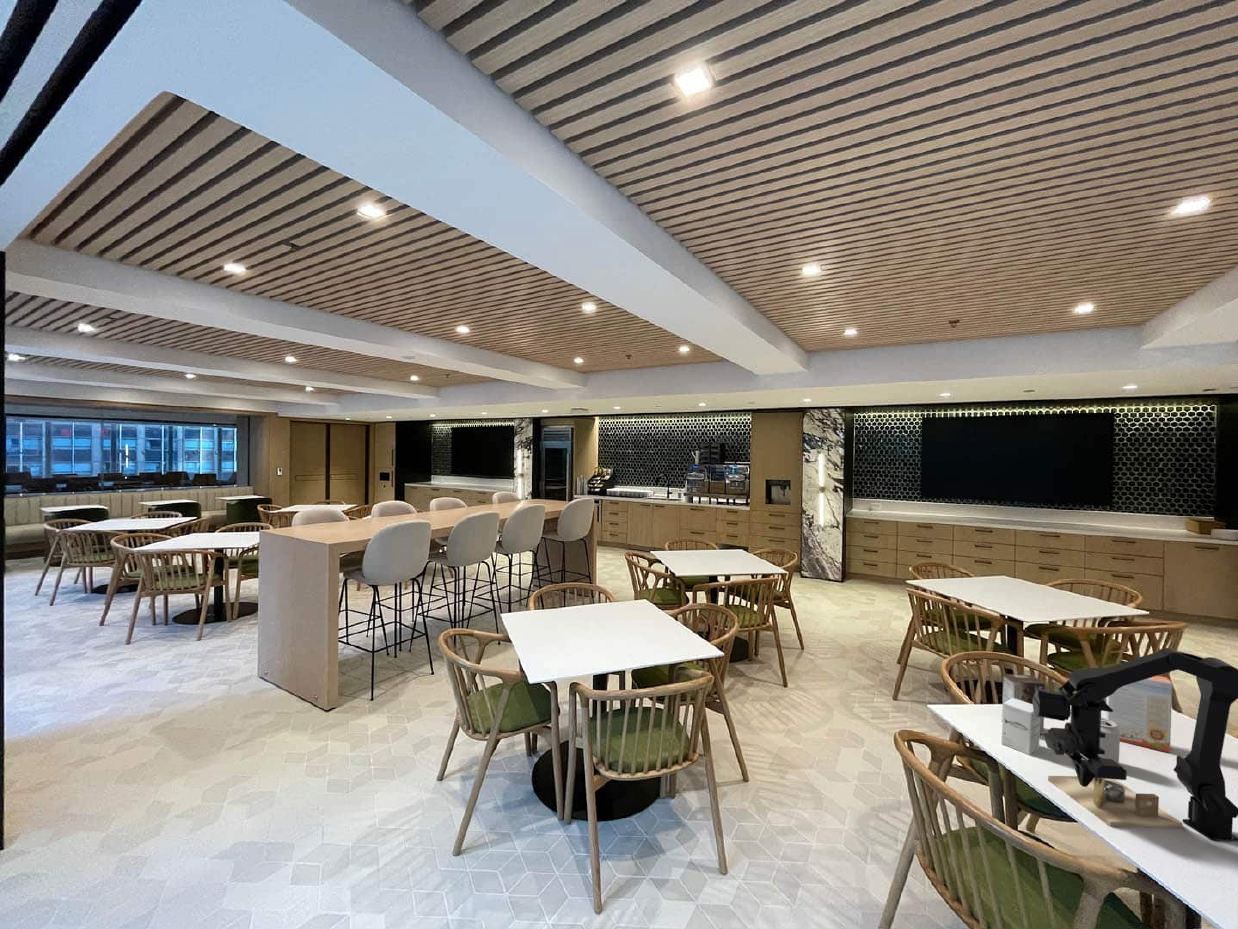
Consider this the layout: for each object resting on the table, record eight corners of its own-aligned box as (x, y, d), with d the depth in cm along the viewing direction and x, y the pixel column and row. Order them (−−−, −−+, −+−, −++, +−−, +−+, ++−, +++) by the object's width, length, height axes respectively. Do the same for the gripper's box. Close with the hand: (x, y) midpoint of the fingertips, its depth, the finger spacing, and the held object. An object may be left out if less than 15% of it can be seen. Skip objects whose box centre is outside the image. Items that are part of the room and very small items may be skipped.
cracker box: (1166, 745, 164) (1169, 677, 164) (1170, 754, 159) (1173, 683, 159) (1104, 730, 172) (1107, 665, 172) (1106, 738, 168) (1109, 671, 167)
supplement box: (1000, 744, 162) (1002, 702, 162) (1011, 737, 166) (1012, 696, 166) (1029, 756, 156) (1031, 712, 156) (1040, 748, 160) (1041, 706, 160)
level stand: (1182, 828, 126) (1183, 802, 126) (1110, 826, 126) (1111, 801, 126) (1110, 781, 144) (1111, 759, 144) (1047, 780, 144) (1048, 758, 144)
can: (1125, 772, 149) (1127, 729, 149) (1094, 768, 151) (1095, 725, 150) (1106, 757, 156) (1108, 716, 156) (1077, 754, 158) (1078, 713, 158)
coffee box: (1031, 725, 175) (1033, 675, 175) (1044, 735, 168) (1046, 683, 168) (1000, 722, 176) (1002, 672, 176) (1012, 732, 170) (1014, 681, 170)
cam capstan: (1102, 788, 139) (1103, 761, 139) (1127, 799, 134) (1129, 771, 134) (1084, 801, 133) (1085, 772, 133) (1110, 812, 129) (1111, 783, 129)
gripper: (1026, 704, 145) (1025, 762, 145) (1076, 741, 126) (1074, 807, 127) (1072, 707, 144) (1070, 765, 144) (1129, 745, 125) (1127, 811, 125)
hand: (1083, 786), depth 135 cm, fingers closed
